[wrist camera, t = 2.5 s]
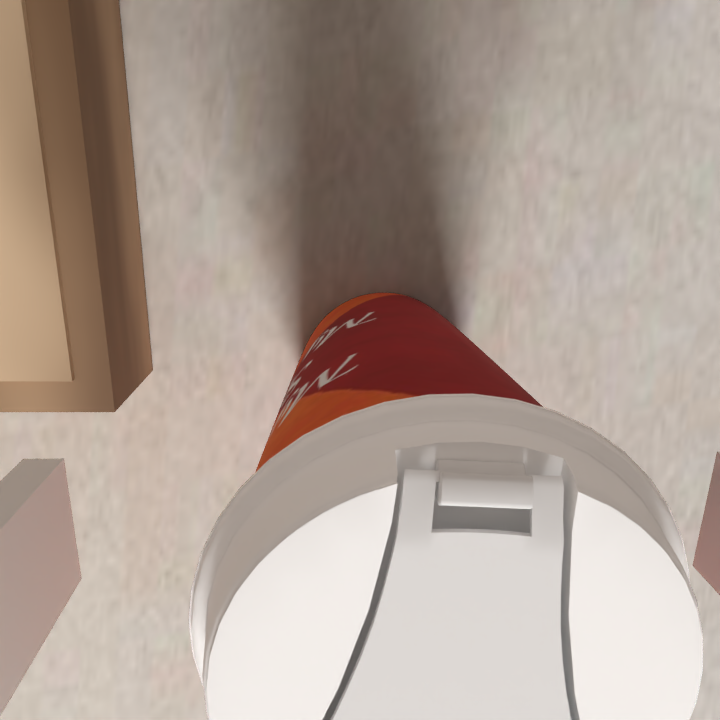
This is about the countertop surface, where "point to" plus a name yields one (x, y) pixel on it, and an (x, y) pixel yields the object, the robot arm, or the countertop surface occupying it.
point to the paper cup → (439, 549)
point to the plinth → (68, 212)
